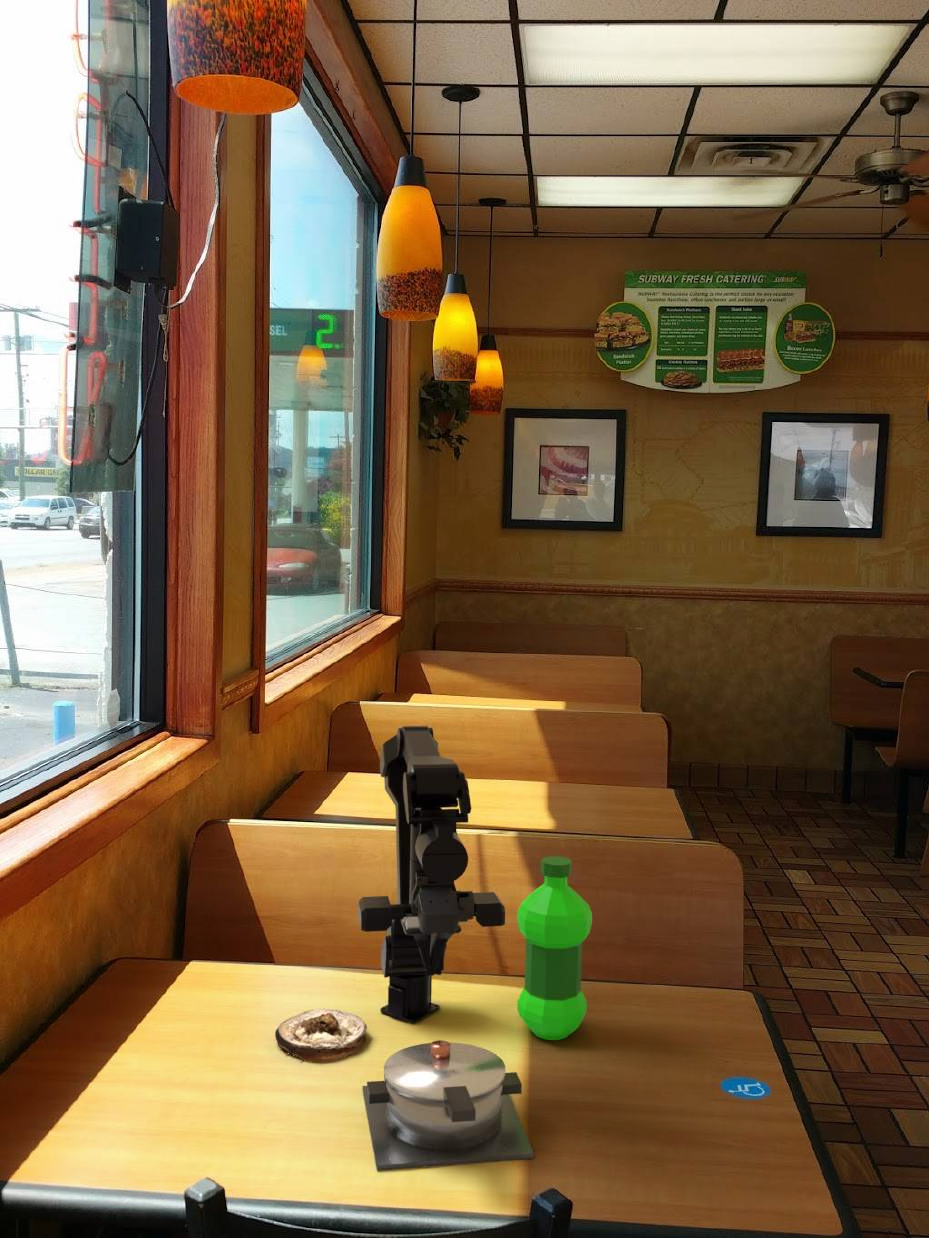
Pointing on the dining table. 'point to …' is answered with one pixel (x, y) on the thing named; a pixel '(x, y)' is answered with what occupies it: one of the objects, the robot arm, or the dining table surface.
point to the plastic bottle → (553, 953)
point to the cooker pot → (443, 1129)
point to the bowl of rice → (321, 1035)
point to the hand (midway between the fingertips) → (429, 974)
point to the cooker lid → (445, 1075)
